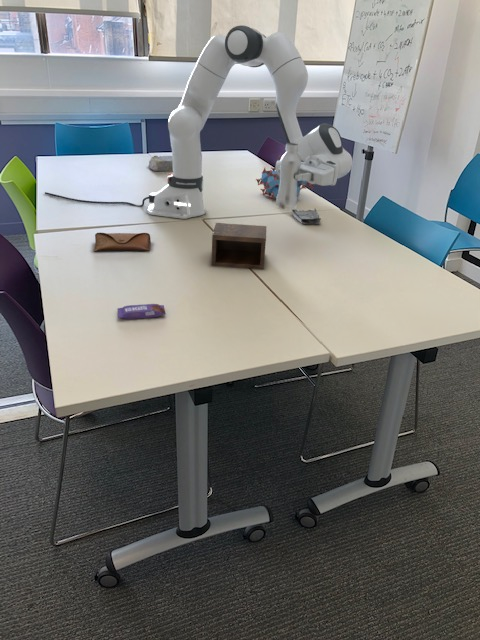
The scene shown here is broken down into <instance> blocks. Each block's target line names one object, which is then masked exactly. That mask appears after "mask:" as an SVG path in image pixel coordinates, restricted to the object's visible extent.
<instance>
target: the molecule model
mask: <svg viewBox="0 0 480 640" xmlns="http://www.w3.org/2000/svg"><path fill="white" fill-rule="evenodd" d="M281 158H282V156H281V155H279V157H278V160H281ZM255 181H256V182H257V185H258V186H260V185H263V188H260V191H261V192H262V195H263V196H265V195H268V199H269V200H271V199H277V195H278V191H279V185H280V175H277V172H276V167H270V169H269V170H266V166H264V167H263V170H262V171H261V176H260V178H258V179H257V178H255ZM314 185H315V184H311V183H309V182H308V181H303V180H301V181H298V182H297V199H298V198H299V196H301V193H300V192H301V190H302V189H307V186H310V187H311V188H310V189H311V190H313V188H314Z"/></svg>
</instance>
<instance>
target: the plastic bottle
mask: <svg viewBox="0 0 480 640" xmlns="http://www.w3.org/2000/svg"><path fill="white" fill-rule="evenodd" d="M284 150H285V153H284V154H283V155H282V156H281V160H280V185H279V191H278V195H277V197H276V198H275V199H276V200H275V205H276V207H277V209H279V210H282V211H291V210H295V208H297V205H298V198H297V182H298V181H297V180H295V174H298V173H299V172H300V168H301V159H300V157H299V155H298V153H297V151H298V144H296V143H287V142H286V144H285V149H284Z"/></svg>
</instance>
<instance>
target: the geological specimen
mask: <svg viewBox="0 0 480 640" xmlns="http://www.w3.org/2000/svg"><path fill="white" fill-rule="evenodd" d="M148 168H149V169H150V170H152V171H155V172H173V157H172V155H162V156H161V155H159V156H158V155H153V156H152V157H151V158H150V160H149V161H148Z"/></svg>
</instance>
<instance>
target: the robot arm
mask: <svg viewBox="0 0 480 640" xmlns="http://www.w3.org/2000/svg"><path fill="white" fill-rule="evenodd" d="M236 64H239V65H241V66H244V67H249V68H259V67H262V66H264V65H265V67H266V69H267V70H268V73H269V75H270V76H271V78H272V81H273V83H274V89H275V96H276V97H275V103H274V104H275V108H276V112H277V115H278V118H279V119H278V120H279V121H280V124H281V127H282V130H283V133H284V137H285V139H286V143H296V144H298V151H297V153H298V155H299V157H300V159H301V168H300V172H299V173H298V174H295V180H297V181H301V180H303V181H308V182H309V183H311V184H314V185H318V186H322V187H323V186H336V185H337V180H339V179H341V178H343V177H345V176H347V175H348V174H349V173H350V171H351V169H352V168H353V165H354V164H353V163H354V162H353V157H352V155H351V154H350V153H349V152H348V151H347V150H346V149H345V148H344V147H343V140H342V136H341V134H340V132H339V130H338V129H337V128H336V127H335V126H334V125H331V124H330V123H325V122H324V123H321V124H319V125H318V126H316V127H315V128H313V129H311V131H309V132H308V133H307V134H306V135H304V136H303V133H302V130H301V127H300V124H299V121H298V117H297V106H298V103H299V101H300V99H301V97H302V95H303V93H304V92H305V90H306V88H307V85H308V81H309V73H308V70H307V66H306V64H305V62H304V60H303V57H302V56H301V54H300V52H299V50H298V48H297V47H296V45H295V44H294V43H293V41H292V39H291V38H290V36H289V35H288V34H287V33H285V32H283V31H277V32H274V33H271V34H270V35H268V36H266V35H264V33H262V32H260V31H259V30H258V29H255V28H252V27H250V26H247V25H235V26H233V27H232V28H231V29H229V30H228V32H227V33H226V36H225V35H223V34H215V35H213V36H212V37H211V38H210V39H209V40H208V42H207V44H206V45H205V47H204V48H203V50H202V52H201V54H200V55H199V57H198V58H197V61H196V64H195V66H194V68H193V70H192V72H191V75H190V77H189V79H188V81H187V84H186V87H185V90H184V93H183V95H182V99H181V101H180V104H179V105H178V107H177V108H176V109H174V110H173V111H172V112H171V113H170V115H169V116H168V117H169V118H168V121H167V128H168V132H169V133H168V134H169V140H170V147H171V154H172V155H171V156H172V157H173V171H172V172H169V174H168V175H167V184H166V185H165V186H164V187H162V188H161V189H160V190H158V191H157V192H153V191H152V192H151V193H150V194H148V196H146V197H144V198H143V199H142V203H141V204H140V205H137V204H135V203H131V202H129V201H96V200H95V201H94V200H84V199H77V198H72V197H67V196H63V195H59V194H54V193H50V192H46V191H45V192H44V194H45V195H48V196H52V197H56V198H61V199H64V200H68V201H74V202H78V203H85V204H86V203H87V204H101V205H103V204H106V205H116V204H117V205H122V204H123V205H129V206H133V207H138V208H142V207H144V206H145V201H147V200H148V203H150V204H149V206H148V208H147V214H148V215H151V216H159V217H164V218H165V217H167V218H173V219H180V220H181V219H182V220H186V219H190V218H196V217H200V216H202V215H204V214H206V211H207V210H206V208H205V204H204V197H203V190H204V176H203V152H202V146H201V145H202V144H201V131H202V130H203V129H204V126H205V124H206V122H207V120H208V118H209V116H210V114H211V111H212V109H213V107H214V105H215V103H216V100H217V98H218V96H219V93H220V92H221V89H222V87H223V86H224V83H225V81H226V79H227V77H228V76H229V74H230V71H231V69H232V68H233V67H234V66H235V65H236ZM275 168H276V169H275V171H276V172H277V175H280V160H279V159H278V160H276V162H275Z"/></svg>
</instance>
